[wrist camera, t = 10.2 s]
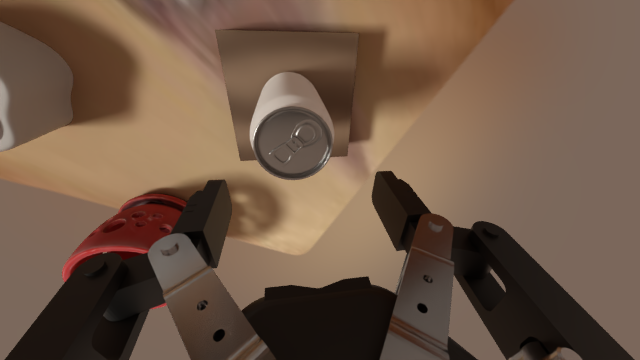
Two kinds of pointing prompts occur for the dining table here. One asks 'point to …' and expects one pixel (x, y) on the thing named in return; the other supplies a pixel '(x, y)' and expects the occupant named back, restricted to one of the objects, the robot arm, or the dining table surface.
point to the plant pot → (130, 230)
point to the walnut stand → (288, 56)
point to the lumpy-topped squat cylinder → (31, 88)
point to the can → (291, 128)
